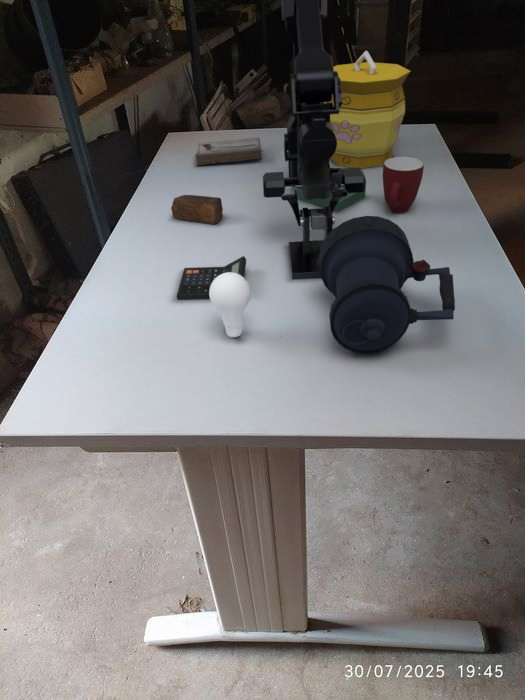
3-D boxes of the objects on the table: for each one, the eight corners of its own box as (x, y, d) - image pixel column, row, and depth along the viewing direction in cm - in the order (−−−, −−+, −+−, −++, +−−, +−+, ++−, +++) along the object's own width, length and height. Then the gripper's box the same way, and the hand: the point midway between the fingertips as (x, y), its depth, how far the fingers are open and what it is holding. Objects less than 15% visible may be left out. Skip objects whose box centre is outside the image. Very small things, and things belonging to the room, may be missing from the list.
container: (356, 179, 131) (362, 64, 115) (304, 156, 145) (303, 51, 129) (418, 158, 139) (432, 49, 123) (363, 138, 153) (369, 38, 138)
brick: (223, 217, 118) (221, 196, 115) (216, 225, 115) (213, 204, 112) (181, 212, 121) (177, 192, 118) (172, 219, 118) (169, 199, 115)
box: (262, 160, 142) (261, 148, 140) (196, 166, 142) (195, 154, 141) (261, 148, 150) (260, 136, 149) (199, 153, 151) (198, 142, 149)
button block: (296, 198, 124) (295, 181, 121) (323, 184, 129) (324, 168, 127) (337, 212, 117) (338, 194, 114) (365, 197, 122) (366, 180, 120)
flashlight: (316, 288, 93) (433, 283, 92) (323, 375, 78) (464, 371, 77) (316, 212, 83) (448, 205, 82) (325, 295, 68) (487, 288, 67)
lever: (300, 218, 105) (299, 206, 104) (325, 217, 105) (325, 205, 104) (304, 230, 95) (303, 216, 94) (332, 229, 95) (332, 215, 94)
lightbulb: (214, 326, 87) (206, 266, 80) (252, 322, 87) (248, 262, 80) (215, 349, 82) (207, 288, 75) (255, 346, 82) (250, 284, 75)
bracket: (288, 247, 106) (287, 199, 100) (339, 244, 106) (341, 196, 99) (292, 279, 97) (290, 229, 90) (347, 276, 96) (350, 225, 90)
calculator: (185, 271, 101) (182, 257, 99) (247, 270, 100) (246, 255, 98) (177, 299, 93) (174, 285, 91) (244, 298, 93) (243, 283, 91)
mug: (414, 224, 111) (420, 176, 104) (374, 220, 113) (378, 174, 107) (419, 203, 118) (425, 157, 112) (382, 200, 120) (386, 155, 114)
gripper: (261, 161, 90) (266, 246, 99) (374, 155, 89) (367, 241, 99) (260, 141, 98) (265, 221, 108) (363, 135, 98) (358, 215, 108)
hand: (313, 225), depth 105 cm, fingers closed on lever, 5 cm apart
